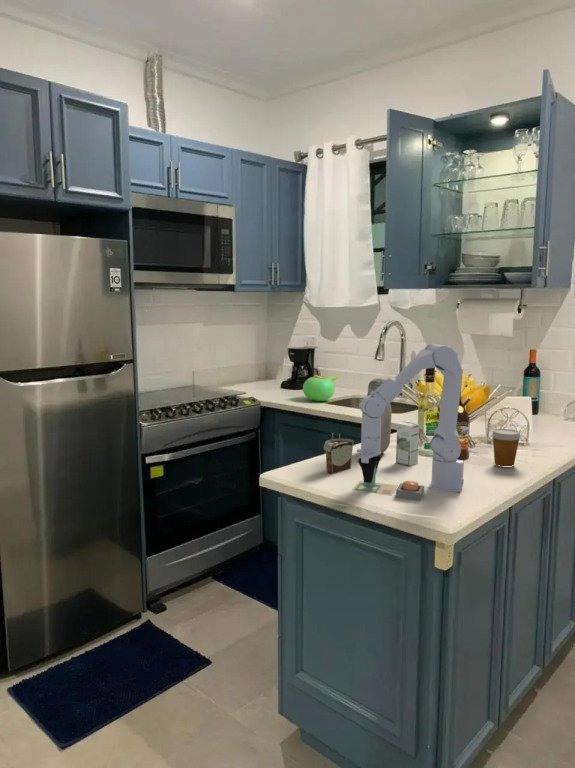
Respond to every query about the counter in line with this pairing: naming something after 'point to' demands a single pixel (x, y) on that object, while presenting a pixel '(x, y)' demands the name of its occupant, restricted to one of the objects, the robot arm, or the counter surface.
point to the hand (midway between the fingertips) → (369, 480)
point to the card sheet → (376, 488)
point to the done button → (410, 486)
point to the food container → (338, 455)
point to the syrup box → (407, 443)
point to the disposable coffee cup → (505, 446)
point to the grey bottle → (382, 417)
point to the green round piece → (319, 388)
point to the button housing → (410, 493)
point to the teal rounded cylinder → (372, 484)
